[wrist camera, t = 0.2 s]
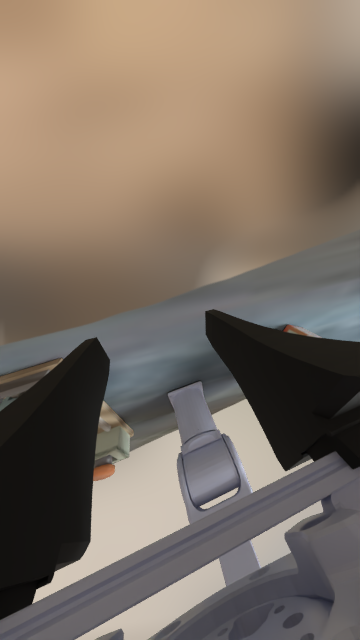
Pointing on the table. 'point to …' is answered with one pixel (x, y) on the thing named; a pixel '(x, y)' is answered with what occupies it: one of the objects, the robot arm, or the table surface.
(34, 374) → the rail track
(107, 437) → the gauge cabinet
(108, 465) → the button
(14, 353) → the table surface
